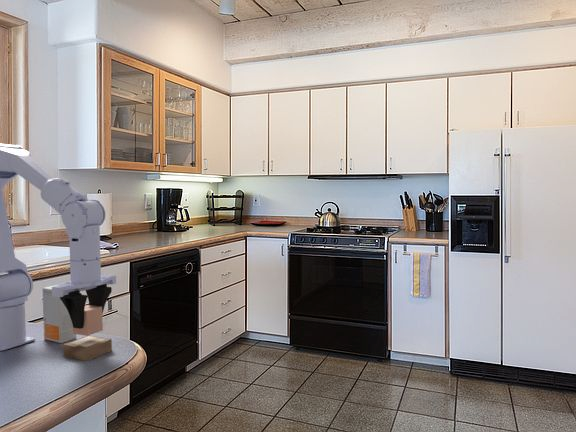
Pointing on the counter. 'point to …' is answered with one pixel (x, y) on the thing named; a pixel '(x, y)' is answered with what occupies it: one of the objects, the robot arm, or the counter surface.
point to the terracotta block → (91, 321)
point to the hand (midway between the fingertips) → (87, 324)
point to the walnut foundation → (87, 347)
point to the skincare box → (56, 318)
